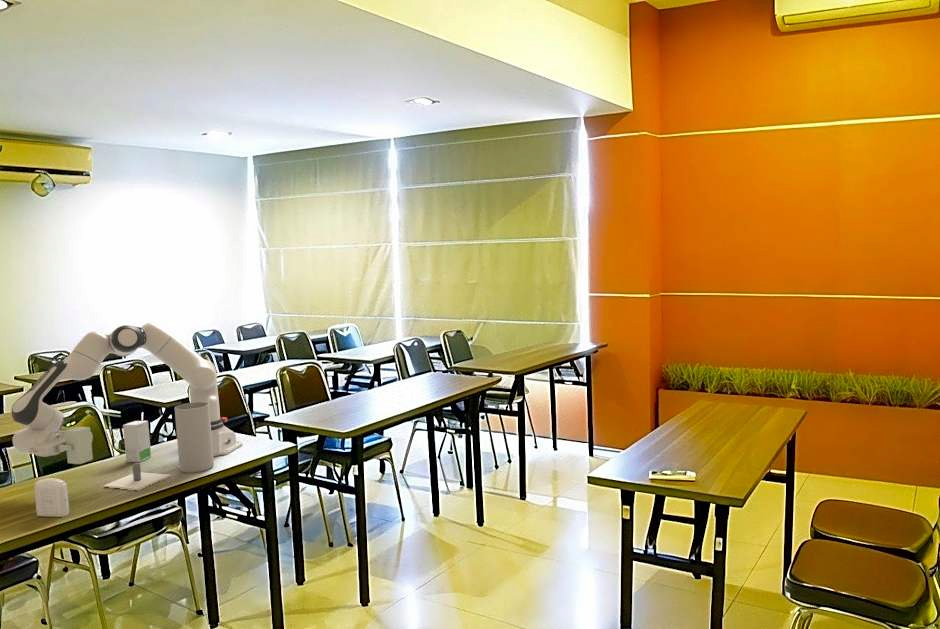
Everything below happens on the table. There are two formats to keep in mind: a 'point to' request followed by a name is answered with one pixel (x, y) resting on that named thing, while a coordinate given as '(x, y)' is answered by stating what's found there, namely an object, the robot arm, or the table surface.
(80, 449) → the light grey tall block
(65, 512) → the photo printer
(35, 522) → the table surface
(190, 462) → the cylinder vase
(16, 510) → the table surface
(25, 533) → the table surface
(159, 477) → the dock
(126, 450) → the skincare box
